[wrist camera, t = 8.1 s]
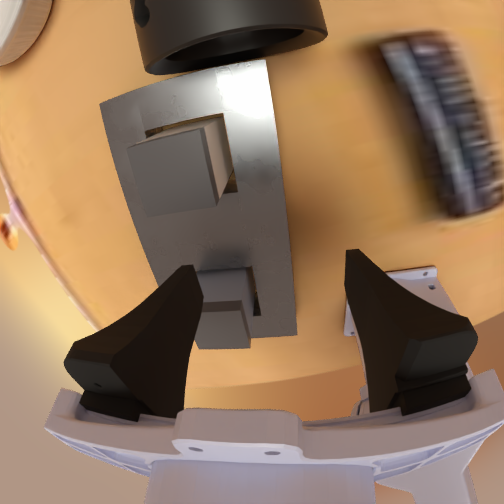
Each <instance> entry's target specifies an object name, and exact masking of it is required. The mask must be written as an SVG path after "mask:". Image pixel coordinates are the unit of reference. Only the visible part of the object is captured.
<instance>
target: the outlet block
mask: <svg viewBox="0 0 504 504" xmlns="http://www.w3.org/2000/svg"><path fill="white" fill-rule="evenodd" d="M99 105H100V109H101V114H102V118H103V122H104V126H105V130H106V134H107V138H108V142H109V146H110V150H111V153H112V157H113V160H114V164H115V167H116V171H117V174H118V177H119V180H120V184H121V187H122V190H123V193H124V196H125V199H126V202H127V205H128V208H129V211H130V214H131V217H132V220H133V222H134V225H135V228H136V231H137V233H138V236H139V239H140V241H141V244H142V247H143V249H144V252H145V254H146V257H147V259H148V262H149V264H150V267H151V269H152V272H153V274H154V277H155V279H156V281H157V284H158V286H160V285H161V284H162V283H164V282H165V281H166V280H167V279H168V278H169V277H170V276H171V275H172V274H173V273H174V272H175V271H176V270H177V269H178V268H179V267H180V266H182V265H192V264H193V265H194V268H195V271H196V274H197V271H203V270H215V269H227V268H239V267H250V266H252V268H253V274H254V279H255V284H256V289H257V293H255V300H254V311H253V323H252V334H251V338H265V337H280V336H294V335H297V323H296V308H295V295H294V283H293V272H292V260H291V250H290V240H289V230H288V220H287V211H286V202H285V193H284V185H283V177H282V169H281V161H280V153H279V146H278V138H277V131H276V124H275V117H274V111H273V104H272V97H271V91H270V85H269V79H268V73H267V67H266V61H265V59H264V60H256V61H249V62H242V63H236V64H231V65H225V66H220V67H215V68H210V69H206V70H201V71H197V72H193V73H189V74H185V75H181V76H178V77H174V78H171V79H167V80H164V81H160V82H157V83H154V84H151V85H148V86H145V87H142V88H139V89H136V90H133V91H131V92H128V93H125V94H122V95H120V96H117V97H115V98H112V99H110V100H107V101H105V102H103V103H100V104H99ZM218 113H223V114H224V119H225V124H226V130H227V135H228V141H229V146H230V151H231V157H232V162H233V167H234V173H235V178H236V179H232V180H228V182H227V184H226V186H225V188H224V191H223V193H222V195H221V197H220V200H219V202H218V204H217V206H216V207H212V208H205V209H198V210H191V211H185V212H178V213H172V214H166V215H160V216H154V217H148V218H147V216H146V213H145V210H144V207H143V204H142V201H141V198H140V195H139V191H138V188H137V185H136V182H135V178H134V175H133V172H132V168H131V165H130V161H129V158H128V154H127V150H126V148H128V147H130V146H132V145H134V144H136V143H138V142H141V141H143V140H145V139H147V138H149V137H151V136H153V135H155V134H158V133H160V132H162V131H163V130H162V126H165V125H169V124H172V123H177V122H181V121H185V120H189V119H194V118H198V117H203V116H208V115H213V114H218Z"/></svg>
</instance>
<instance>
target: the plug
mask: <svg viewBox="0 0 504 504" xmlns="http://www.w3.org/2000/svg"><path fill="white" fill-rule="evenodd" d="M126 150H127V154H128V158H129V161H130V165H131V168H132V172H133V175H134V178H135V182H136V185H137V188H138V191H139V195H140V198H141V201H142V204H143V207H144V210H145V213H146V216H147V218H148V217H154V216H160V215H166V214H172V213H178V212H185V211H191V210H198V209H205V208H212V207H216V206H217V204H218V202H219V200H220V197H221V195H222V193H223V191H224V188H225V186H226V184H227V182H228V180H229V178H230V175H231V173H232V171H233V163H232V158H231V153H230V148H229V142H228V137H227V132H226V127H225V122H224V116H222V117H217V118H212V119H207V120H202V121H197V122H193V123H188V124H184V125H180V126H176V127H172V128H169V129H166V130H164V131H162V132H160V133H158V134H155V135H153V136H151V137H149V138H147V139H145V140H143V141H141V142H138V143H136V144H134V145H132V146H130V147H128V148H126Z"/></svg>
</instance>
